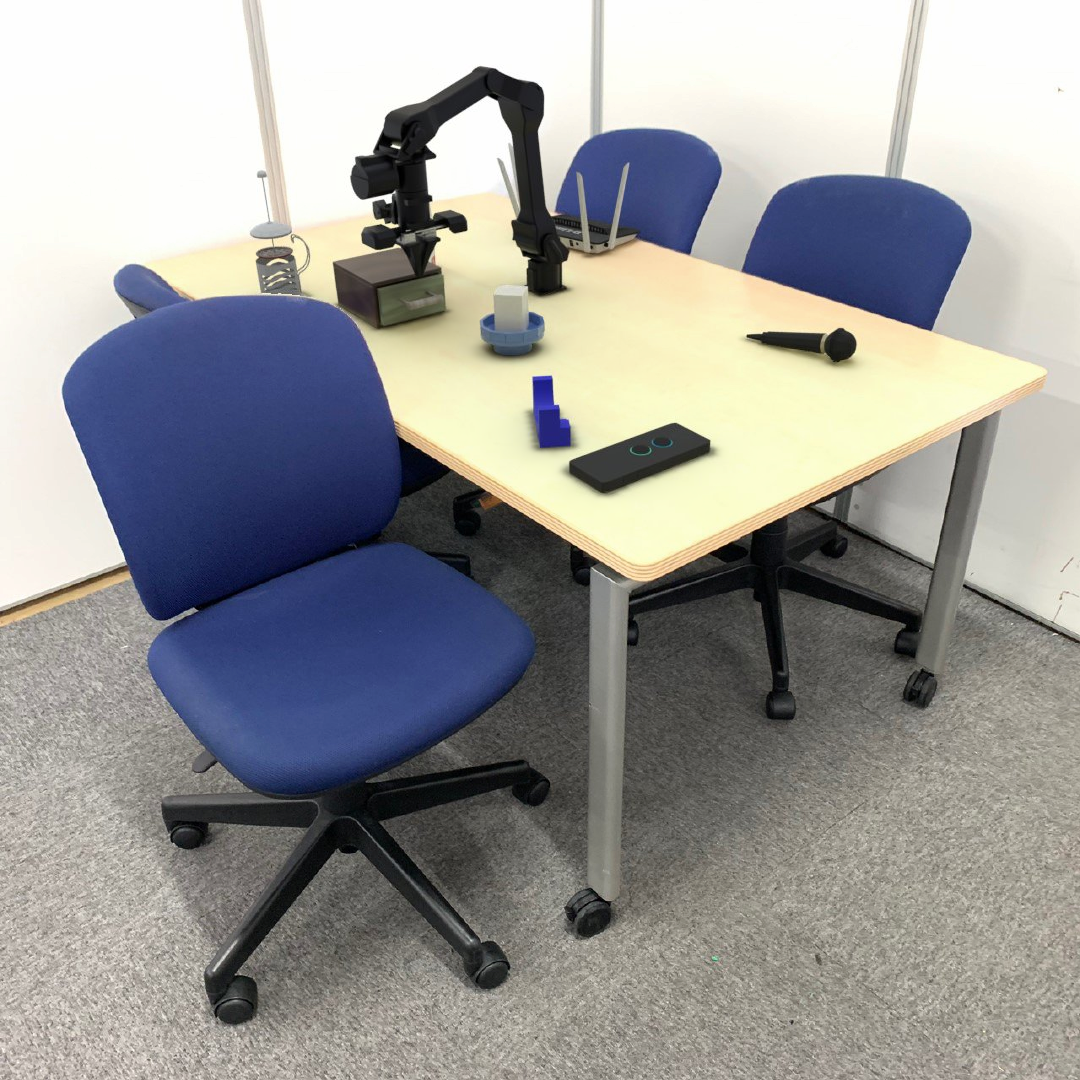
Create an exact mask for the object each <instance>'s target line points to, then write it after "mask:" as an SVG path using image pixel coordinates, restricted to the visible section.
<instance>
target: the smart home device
mask: <svg viewBox="0 0 1080 1080" xmlns="http://www.w3.org/2000/svg"><path fill="white" fill-rule="evenodd" d="M711 443H712V442H711V439H709V438H707V437H705V436H703V435H702V434H699V433H697V432H696V431H694V430H692V429H690V428H688V427H686V426H684V425H682V424H680V423H678V422H671V423H668V424H664V425H661V426H659V427H657V428H654V429H651V430H648V431H645V432H643V433H640V434H638V435H635V436H632V437H629V438H626V439H624V440H621V441H618V442H615V443H613V444H610V445H607V446H605V447H602V448H599V449H596V450H594V451H591V452H589V453H586V454H582V455H580V456H578V457H575V458H573V459H571V460H569V461H568V473H569V474H571V475H573V476H574V477H576V478H578V479H579V480H581V481H582V482H584V483H586V484H587V485H589V486H590V487H592V488H593V489H595V490H597V491H598V492H600V493H608V492H611V491H614V490H617V489H619V488H621V487H624V486H627V485H629V484H631V483H634V482H637V481H639V480H642V479H644V478H647V477H649V476H653V475H655V474H657V473H660V472H662V471H664V470H668V469H670V468H672V467H675V466H677V465H680V464H682V463H684V462H688V461H689V460H692V459H695V458H697V457H698V458H699V457H700V456H702V455H705V454H707V453H709V452H710V450H711Z"/></svg>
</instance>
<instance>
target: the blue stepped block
mask: <svg viewBox="0 0 1080 1080" xmlns="http://www.w3.org/2000/svg"><path fill="white" fill-rule="evenodd" d="M531 379H532V381H531V382H532V410H533V411H532V412H533V417H534V418H533V419H534V424H535V428H536V434H537V440H538V446H539V448H540V449H543V448H544V449H545V448H559V447H560V448H561V447H571V446H572V442H571V441H572V439H571V438H572V436H571V433H572V431H571V427H572V426H571V424H570V420H569V419H567V418H561V408H560V404H555V399H554V398H555V397H554V379H553V375H552V374H551V375H537V376H535V375H534V376H531Z"/></svg>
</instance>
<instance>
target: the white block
mask: <svg viewBox="0 0 1080 1080" xmlns="http://www.w3.org/2000/svg"><path fill="white" fill-rule="evenodd" d="M529 312H530V310H529V290H528V286H524V285H506V284H499V286H498V287H497V289H496V290H495V292H494V293H493V313H494V317H495V331H499V332H506V333H508V332H523V331H526V330H527V328H528V327H529Z"/></svg>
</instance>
